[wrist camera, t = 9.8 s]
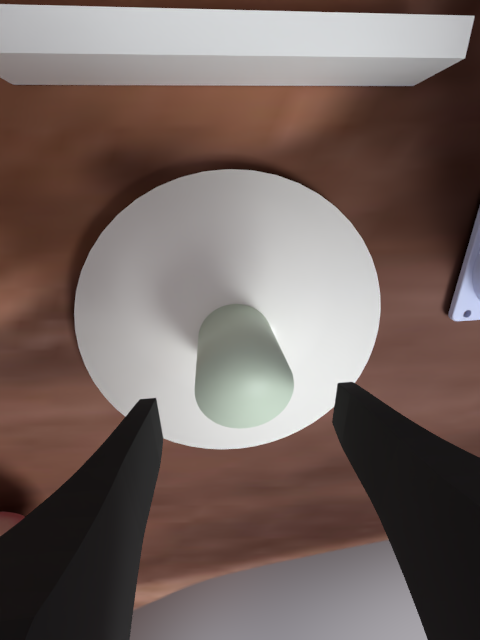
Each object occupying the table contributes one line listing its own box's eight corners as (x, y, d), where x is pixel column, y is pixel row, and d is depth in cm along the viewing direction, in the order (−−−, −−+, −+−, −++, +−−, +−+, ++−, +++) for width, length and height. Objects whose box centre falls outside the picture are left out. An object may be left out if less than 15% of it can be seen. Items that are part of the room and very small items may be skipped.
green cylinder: (272, 301, 16) (296, 342, 12) (270, 366, 18) (291, 423, 14) (195, 306, 16) (189, 350, 11) (201, 372, 18) (198, 432, 13)
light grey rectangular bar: (419, 53, 13) (474, 15, 10) (413, 85, 14) (465, 58, 11) (3, 48, 12) (-61, 2, 9) (12, 84, 12) (-45, 52, 9)
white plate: (399, 166, 15) (408, 165, 14) (353, 428, 22) (358, 436, 21) (37, 174, 13) (28, 173, 13) (114, 451, 21) (111, 461, 20)
